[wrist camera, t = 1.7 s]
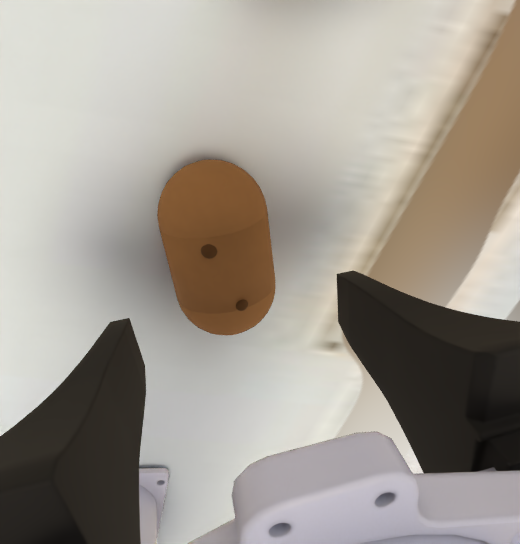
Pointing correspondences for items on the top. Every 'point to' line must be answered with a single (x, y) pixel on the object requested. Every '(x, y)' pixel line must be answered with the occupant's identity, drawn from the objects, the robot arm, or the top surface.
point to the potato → (218, 246)
